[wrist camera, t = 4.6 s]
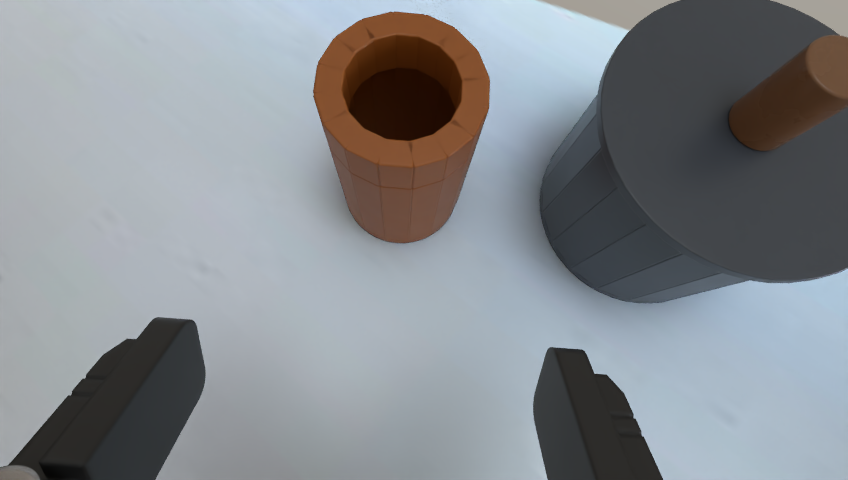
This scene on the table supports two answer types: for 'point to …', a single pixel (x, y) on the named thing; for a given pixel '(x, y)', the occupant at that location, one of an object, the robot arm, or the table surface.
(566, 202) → the tin
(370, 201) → the jar
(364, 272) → the table surface
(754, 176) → the tin lid
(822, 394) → the table surface
